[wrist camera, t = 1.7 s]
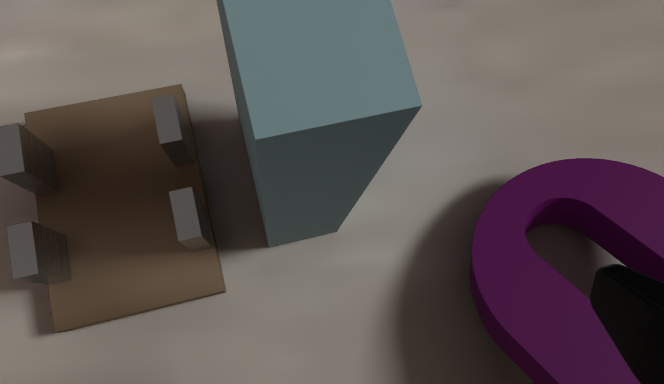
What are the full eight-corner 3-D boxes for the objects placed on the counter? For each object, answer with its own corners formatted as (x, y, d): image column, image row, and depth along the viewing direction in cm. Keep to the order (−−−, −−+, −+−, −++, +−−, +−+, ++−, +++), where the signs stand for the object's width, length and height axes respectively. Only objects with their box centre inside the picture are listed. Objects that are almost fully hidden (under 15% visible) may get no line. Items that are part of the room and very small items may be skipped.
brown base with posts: (226, 292, 22) (214, 286, 18) (64, 331, 21) (16, 334, 17) (185, 93, 24) (166, 49, 20) (35, 122, 23) (-15, 81, 19)
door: (336, 231, 23) (422, 105, 9) (268, 247, 22) (255, 139, 9) (302, 98, 24) (334, -181, 11) (237, 111, 24) (184, -164, 10)
